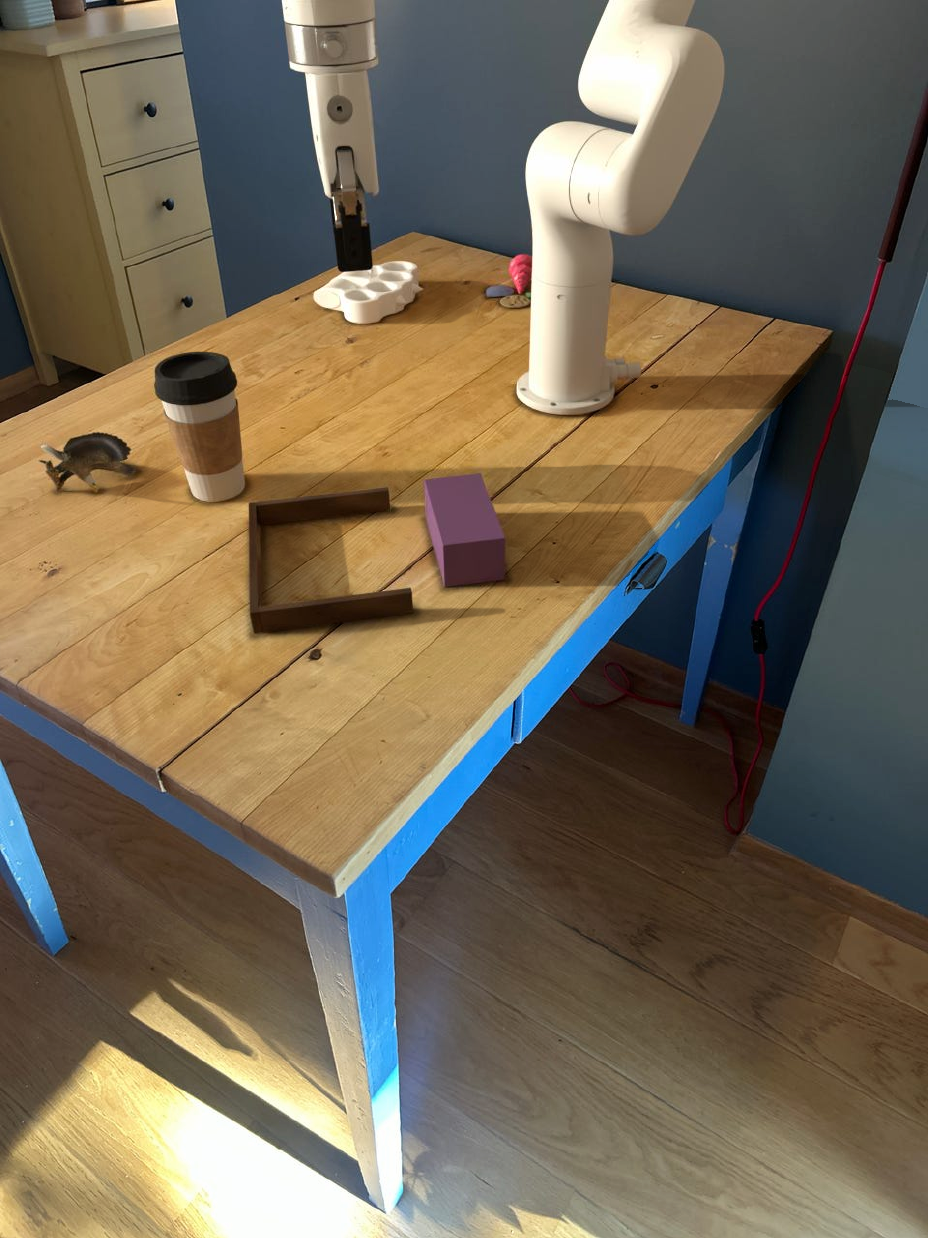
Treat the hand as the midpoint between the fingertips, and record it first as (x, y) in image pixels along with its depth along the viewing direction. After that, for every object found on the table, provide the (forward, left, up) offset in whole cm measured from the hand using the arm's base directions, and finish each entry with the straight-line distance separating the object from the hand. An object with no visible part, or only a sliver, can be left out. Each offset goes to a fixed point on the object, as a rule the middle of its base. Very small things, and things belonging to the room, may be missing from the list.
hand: (352, 251), depth 90 cm
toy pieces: (-29, -51, -26) cm, 64 cm away
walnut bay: (+6, +15, -25) cm, 30 cm away
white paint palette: (-6, -53, -26) cm, 59 cm away
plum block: (-8, +15, -25) cm, 31 cm away
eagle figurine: (+31, -6, -26) cm, 41 cm away
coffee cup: (+17, -2, -26) cm, 31 cm away
